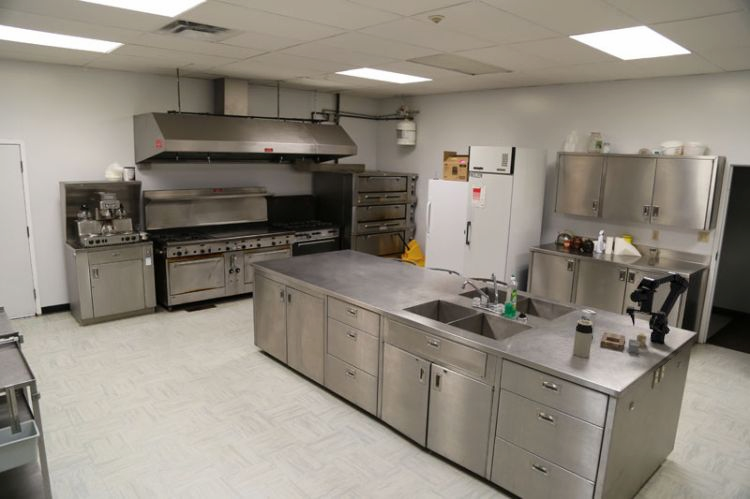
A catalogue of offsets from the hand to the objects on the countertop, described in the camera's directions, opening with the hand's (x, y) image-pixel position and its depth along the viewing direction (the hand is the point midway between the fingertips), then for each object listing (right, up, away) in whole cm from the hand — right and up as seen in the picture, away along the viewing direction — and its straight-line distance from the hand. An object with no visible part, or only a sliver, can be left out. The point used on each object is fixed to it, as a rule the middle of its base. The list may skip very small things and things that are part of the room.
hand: (643, 327), depth 271 cm
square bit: (0, -10, +2) cm, 10 cm away
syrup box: (-26, -7, +14) cm, 30 cm away
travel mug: (-41, -12, -15) cm, 45 cm away
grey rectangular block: (-10, -12, -8) cm, 17 cm away
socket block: (-16, -9, +2) cm, 18 cm away
